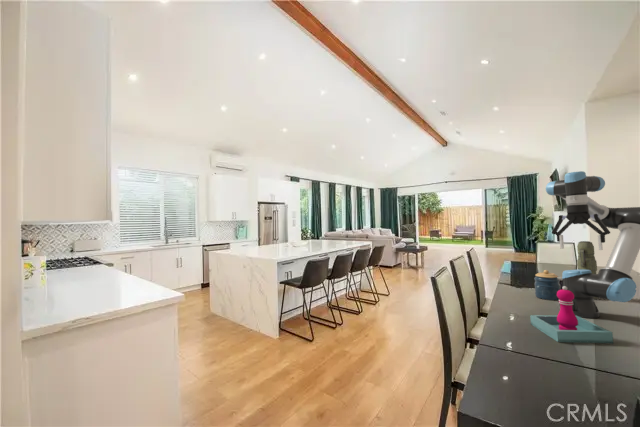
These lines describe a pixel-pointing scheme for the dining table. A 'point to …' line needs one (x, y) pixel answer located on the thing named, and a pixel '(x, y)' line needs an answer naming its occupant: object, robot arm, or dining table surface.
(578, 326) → the tray
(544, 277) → the canister
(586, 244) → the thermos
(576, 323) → the pepper mill
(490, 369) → the dining table surface
